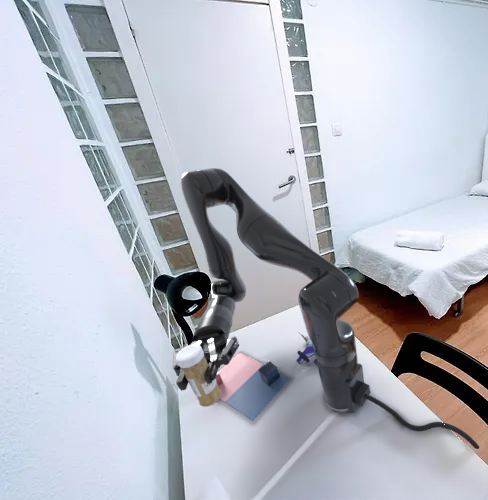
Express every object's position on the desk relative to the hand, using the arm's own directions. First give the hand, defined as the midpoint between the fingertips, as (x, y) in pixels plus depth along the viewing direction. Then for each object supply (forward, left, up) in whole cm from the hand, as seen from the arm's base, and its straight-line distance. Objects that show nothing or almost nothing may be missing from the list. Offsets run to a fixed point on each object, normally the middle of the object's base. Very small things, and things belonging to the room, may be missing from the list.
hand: (195, 383), depth 54 cm
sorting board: (+7, -12, -18) cm, 23 cm away
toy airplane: (-3, -29, -18) cm, 34 cm away
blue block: (+2, -16, -17) cm, 24 cm away
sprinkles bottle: (+2, -2, -8) cm, 8 cm away
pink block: (+14, -8, -17) cm, 24 cm away
